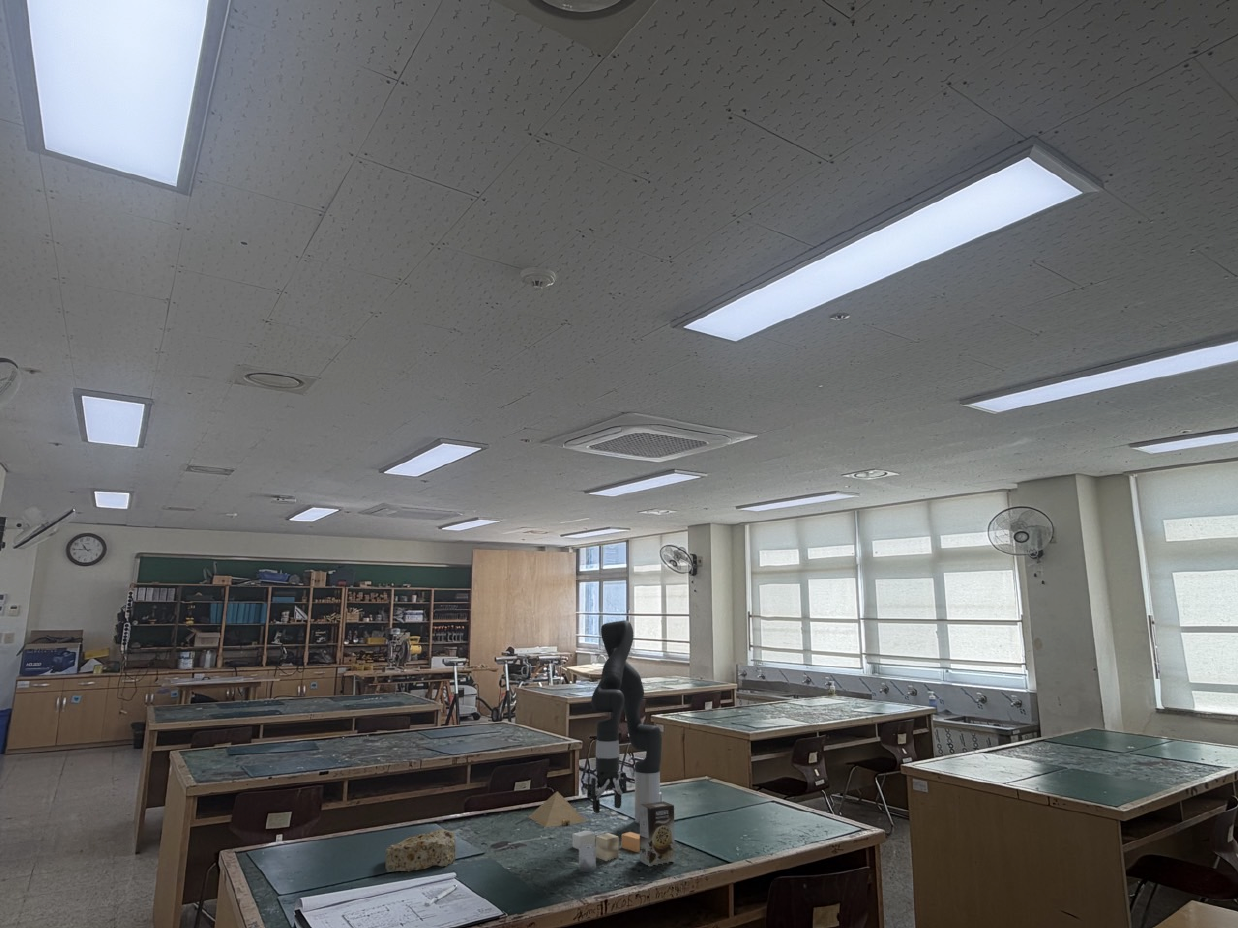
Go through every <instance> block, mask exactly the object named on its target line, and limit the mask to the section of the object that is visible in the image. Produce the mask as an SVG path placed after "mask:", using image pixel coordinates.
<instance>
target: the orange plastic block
mask: <svg viewBox="0 0 1238 928" xmlns="http://www.w3.org/2000/svg"><path fill="white" fill-rule="evenodd" d="M621 848H622V849H625V850H628V851H632V852H635V853H640V833H635V832H632V831H629V832H625V833H622V834H621Z"/></svg>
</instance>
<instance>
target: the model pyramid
mask: <svg viewBox="0 0 1238 928" xmlns="http://www.w3.org/2000/svg"><path fill="white" fill-rule="evenodd" d="M529 818H530V819H531V820H532V821H534V822H535V823H537V824H539V825H540V826H542V827H543V826H544V827H543V828H545V827H548V828H551V827H550V826H554V827H560V826H566V825H568V826H571V825H572V824H574V825H575V824H579V823H585V822H587V821H586V820H585V818H584V817H583V816H582V815H581V814H580V812H578V811H577V809H575V808H574V807H573V806H572V805H571V804H570V803H569V802H568V800H566V799H565V797H564V796H563V795H561V793H560V792H559V791H556V792H554V794H552V795H550V797H548V799H546V800H545V801H544V802H543V803H542V804H540V806H539V807H537V808H536V809H535V810H534V811H533V812H532V813H530V815H528V819H529Z"/></svg>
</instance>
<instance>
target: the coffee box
mask: <svg viewBox="0 0 1238 928" xmlns="http://www.w3.org/2000/svg"><path fill="white" fill-rule="evenodd" d="M639 835H640V852H639V861H640V862H641V863H643V864H644V865H646V866H647V865H648V867H654V866H653V865H656V866H659V865H658V864H662V865H664V864H663V863H667V864H669V863H668V862H672V861H675V805H674V804H672V803H669V802H667V801H663V800H662V802H655V803H646V804H640V824H639Z"/></svg>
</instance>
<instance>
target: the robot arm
mask: <svg viewBox="0 0 1238 928" xmlns="http://www.w3.org/2000/svg"><path fill="white" fill-rule="evenodd" d="M600 634H601V640H602V643H603V646H604V649H605V652H606V654H607V657H608V658H607V659H606V661H605V662H604V664H603V667H602V671H601V677H600V680H599V682H598V685H597V686H596V687H595V689H594V690H593V693H592V696H591V700H590V702H591V703H590V704H591V708H592V709H593V711H595V712H596V713H612V715H611V717H609V718H607V719H602V720H599V721H598V722H597V725H596V744H595V771H596V776H595V777H592V776H589V777H587V789H586V790H587V791H586V797H587V798H589V799H592V811H593V813H594V814H595V813H596V814H599V813H601V812H600V810H601V808H600V807H601V806H600V805H601V803H600V802H601V801H600V798H601V796H602V795H603V794H605V793H604V792H606V791H608V790H612V791H613V792H614V798H613V799H614V801H613V802H614V803H613V804H614V805H613V806H614V808H615V809H621V807H622V795H623V794H624V793H626V792H627V791H628V789H627V773H626V772H624V771H620V743H619V742H620V741H619V740H620V738H619V736H620V735H619V731H620V730H619V729H620V727H619V726H620V720H621V715H622V712H623V711H624V716H625V721H626V726H627V732H628V737H629V742H630V744H631V746H632V748H633V749H634V750H636V751H642V752H646V754H645V758H643V759H641V760H638V761H636V762H635V763H634V823H636V824H639V825H640V804H646V803H655V802H663V793H662V792H661V777H660V776H661V772H660V771H661V768H660V767H661V763H662V744H663V738H662V736H663V735H662V731H661V729H660V727H659V726H657V725H652V724H645V723H644V724H643V722H642V720H641V715H640V709H641V706H642V703H643V701H644V697H645V689H644V685H643V682H642V677H641V676H640V674H639V672H638V671H637V670H636V669H635V668H634V667H633V666H632V665H631V664H630V663H629V662H627V659H628V657H629V654H630V650H631V648H632V645H633V643H634V628H633V624H632V623H631V622H630V621H629V620H623V619H622V620H618V621H613V622H612V621H611V622H607V623H606V622H605V623H603V624H602V625H601V629H600Z"/></svg>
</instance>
